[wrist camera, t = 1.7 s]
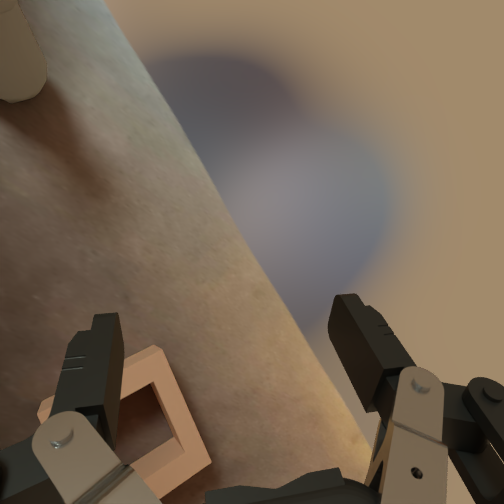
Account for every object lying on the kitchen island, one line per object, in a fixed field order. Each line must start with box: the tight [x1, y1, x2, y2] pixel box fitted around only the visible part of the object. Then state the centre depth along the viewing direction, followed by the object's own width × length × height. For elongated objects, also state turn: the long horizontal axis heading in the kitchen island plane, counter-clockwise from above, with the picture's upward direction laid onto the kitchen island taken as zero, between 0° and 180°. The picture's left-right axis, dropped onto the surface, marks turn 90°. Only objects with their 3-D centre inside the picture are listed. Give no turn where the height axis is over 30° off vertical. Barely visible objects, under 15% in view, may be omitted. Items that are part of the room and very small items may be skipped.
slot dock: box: [37, 345, 211, 499], centre depth 31 cm, size 10×10×4 cm
